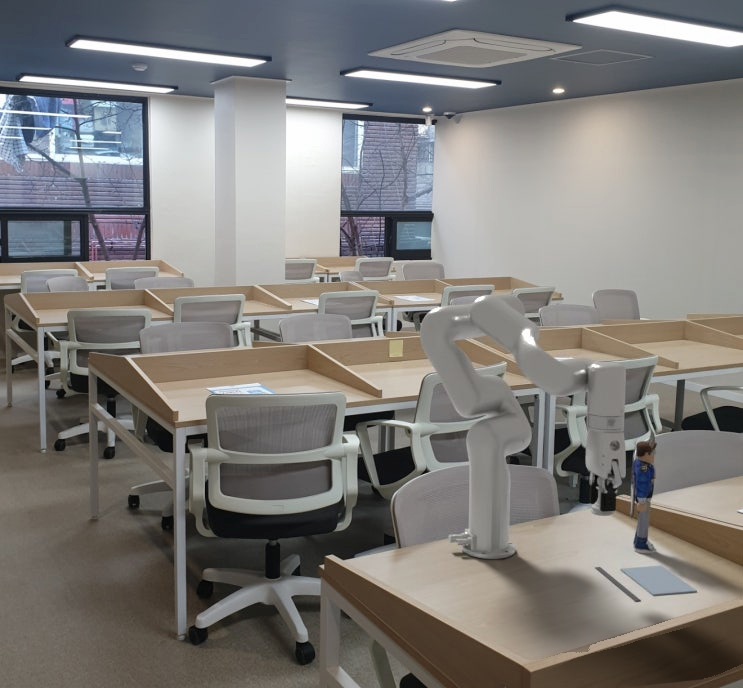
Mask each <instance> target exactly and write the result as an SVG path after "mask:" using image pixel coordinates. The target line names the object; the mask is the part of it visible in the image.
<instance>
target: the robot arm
mask: <svg viewBox="0 0 743 688" xmlns="http://www.w3.org/2000/svg"><path fill="white" fill-rule="evenodd" d="M540 333H541V332H540V327H539V326H538V325H537V323H535V322H534V321H533V320H530V319H529V318H528V317H526V309H525V306H524V304H523V301H521V299H519V298H518V297H517V296H516V295H513V294H511V293H497V294H486V295H485V294H484V295H481V296H480V297H478V298H476V299H475V300H474V301H473V302H472V303H467V304H452V305H443V306H439V307H436V308H434V309H431V310H430V311H428V312H427V314H426V315H424V318H423V319H422V320H421V324H420V329H419V339H420V344H421V348H422V350H423V352H424V354H425V356H426V358H427V359H428V361H429V362H430V364H431V365H432V367H433V369H434V370H435V372H436V373H437V376H438V377H439V380H440V382H441V384H442V387H443V388H444V389H445V392H446V395H447V396H448V398H449V400H450V402H451V404H452V405H453V407H454V409H455V411H456V413H458V415H459V416H461V417H462V418H465V419H473V418H477V417H483V416H487V418H483V419H480V420H479V421H477V422H475V423H474V424H472V425H471V426H470V427H469V429H468V430H467V433H466V438H465V443H466V444H465V445H466V451H467V457H468V464H469V478H468V479H469V491H468V492H469V495H468V497H469V499H468V500H469V501H468V503H469V505H468V528H464V532H461V533H459V534H456V533H455V534H448V536H447V538H448V539H447V540H448V544H451V543H452V544H453V543H456V545H457V546H461V550H462V551H463V553H465V554H467V555H468V556H471V557H475V558H478V559H485V560H486V559H487V560H499V559H505V558H509V557H511V556H512V555H515V552H516V545H515V544H514V543H513V542H512V541H510V518H511V517H510V514H511V513H510V512H511V511H510V509H511V508H510V507H511V472H510V469H509V466H508V463H507V460H506V457H508V456H510V455H514V454H516V453H519V452H522V451H524V450H525V449H527V448H528V446H529V445H530V443H531V441H532V436H533V435H532V434H533V433H532V428H531V424H530V422H529V420H528V418H527V416H526V414H525V412H524V410H523V408H522V407H521V405H520V403H519V401H518V399H517V397H516V395H515V393H514V392H513V390H512V388H511V387H510V385H509V384H508V382H506V380H505V379H504V378H502V377H500V376H499V375H496V374H483V375H480V374H479V373H478V372H477V370H476V369H475V367H474V365H473V364H472V361H471V359H470V358H469V356H468V354H466V353H465V352H464V351H463V349H461V348H460V346H458V344H456V342H455V341H462V340H463V341H464V340H470V339H477V338H480V337H488V338H490V339H491V340H493V341H494V342H495V343H496V344H497V345H499V346H500V347H502V348H503V349H504V350H506V351H507V352H508V353H510V354H511V355H512V356H513V359H514V361H515V364H516V366H517V367H518V369H519V371H520V372H521V374H522V375H523V376H524V377H525V378H526V379H527V380H529V381H530V382H531V383H532V384H534V385H535V386H536V387H537V388H539V389H540V390H542V391H544V392H545V394H548V395H550V396H553V397H559V398H562V397H563V398H564V397H569V396H572V395H576V394H582V393H587V399H586V400H587V403H586V405H587V406H586V407H587V408H586V430H587V435H586V443H585V467H586V468H587V471H588V475H589V481H588V482H589V504H590V505H593V504H595V502H597V499H598V489H597V488H596V487H597V486H599V485H598V483H597V479H598V477H601V478H602V489H603V492H601V499H600V510H601V511H602V512H608V511H613V512H615V511H616V508H617V494H618V488H619V486H621V485H622V483H623V482H622V479H625V478H626V474H627V473H626V470H627V468H626V467H627V466H626V465H627V463H626V462H627V458H626V457H627V455H626V441H625V434H624V431H625V408H626V381H627V380H626V379H627V371H626V368H625V366H624V365H623V364H621V363H617V362H610V361H598V360H594V359H591V358H588V357H573V358H567V359H561V360H559V359H557V358H555V357H554V356H552V355H551V354H549V353H548V352H546V351H545V350H544V349H543V348H542V347H540V345H539V344H538V340H539V338H540ZM610 475H611V477H609V476H610ZM607 477H608V478H607ZM607 481H609V484H608V485H607Z"/></svg>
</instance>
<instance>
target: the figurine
mask: <svg viewBox="0 0 743 688" xmlns="http://www.w3.org/2000/svg"><path fill="white" fill-rule="evenodd" d="M649 430H650V433H649V434H650V436H649V438H648V439H647V440H646V441H645V440H643V441H639V442H637V437H635V438H634V442H633V456H632V467H631V468H632V469H631V480H630V481H631V484H630V505H631V507H630V519H631V520H632V519H633V517H634V515H635V514H634V513H635V505H636V510H637V521H636V522H637V525H636V527H635V533H634V534H635V535H634V538H633V544H632V545H633V546H632V548H633V551H634V552H635V553H638V554H654V553H655V549H656V548H655V546H654V543H653V542H651V541H649V539H648V538H649V537H648V536H649V527H650V519H651V517H650V516H651V504H652V503H651V501H652V498H653V494H654V490H655V487H654V486H655V479H657V478H656V477H657V476H656V475H657V468H656V464H655V455H656V454H657V451H656V447H657V445H658V443H657V442H656V436H655V433H654V431H653V429H652V427H651V426H649ZM635 454H636V459H635Z"/></svg>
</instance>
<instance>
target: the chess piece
mask: <svg viewBox="0 0 743 688" xmlns="http://www.w3.org/2000/svg"><path fill="white" fill-rule="evenodd" d="M607 478H609V476H608V477H607ZM597 483H598V485H599V486H597V487H596V488H597V489H598V499H597V502H595V504H591V509H590V512H591V514H593V515H594V516H599V517H600V516H601V517H609V516H612V515H614V512H615V511H608V512H602V511H601V510H600V499H601V492H603V489H602V478H601V477H598V479H597ZM609 483H610V481H607V485H608V484H609Z"/></svg>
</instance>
